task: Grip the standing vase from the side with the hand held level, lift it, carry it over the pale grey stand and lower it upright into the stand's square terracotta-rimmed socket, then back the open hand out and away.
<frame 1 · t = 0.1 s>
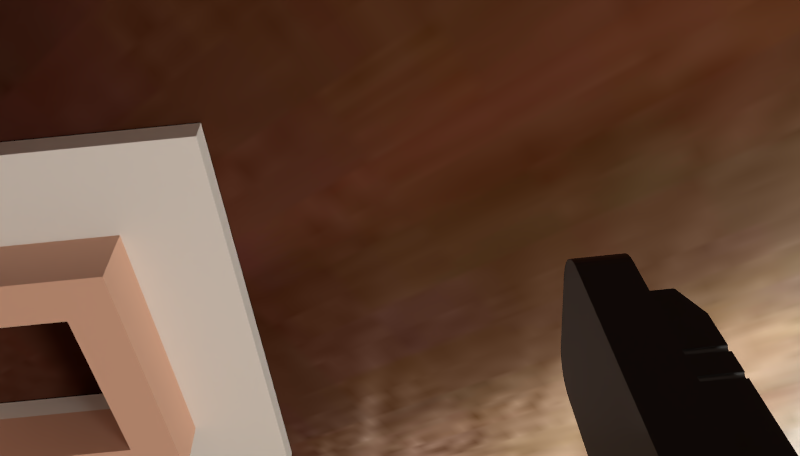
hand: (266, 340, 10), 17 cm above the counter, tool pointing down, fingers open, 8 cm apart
socket stand: (34, 339, 33), on the counter
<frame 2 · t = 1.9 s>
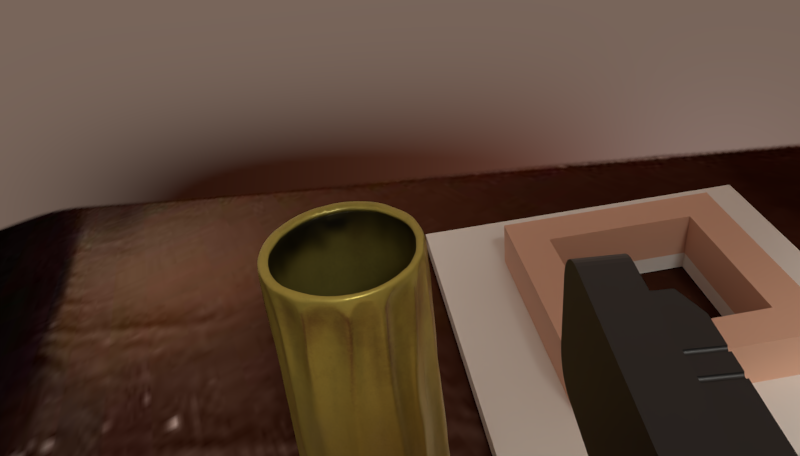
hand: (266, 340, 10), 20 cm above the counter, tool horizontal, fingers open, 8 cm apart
socket stand: (645, 322, 39), on the counter
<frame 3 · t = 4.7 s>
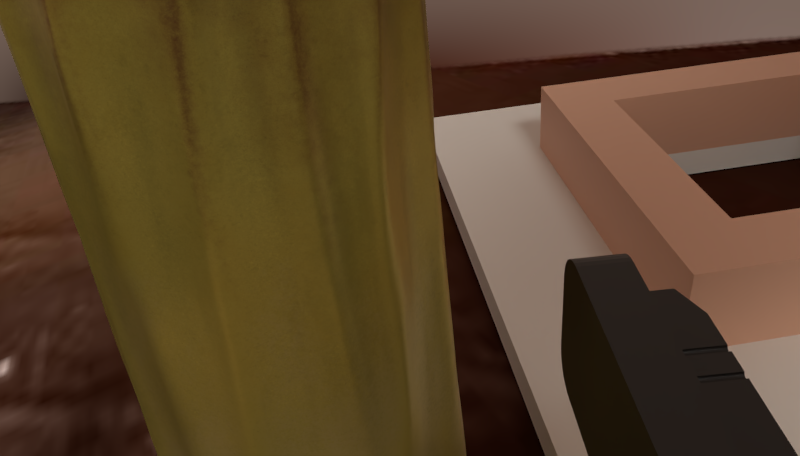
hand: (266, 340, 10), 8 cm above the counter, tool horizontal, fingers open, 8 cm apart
socket stand: (766, 226, 24), on the counter
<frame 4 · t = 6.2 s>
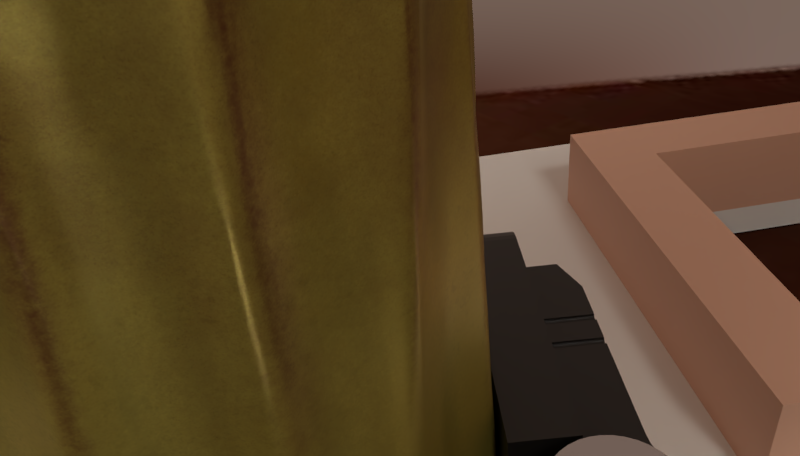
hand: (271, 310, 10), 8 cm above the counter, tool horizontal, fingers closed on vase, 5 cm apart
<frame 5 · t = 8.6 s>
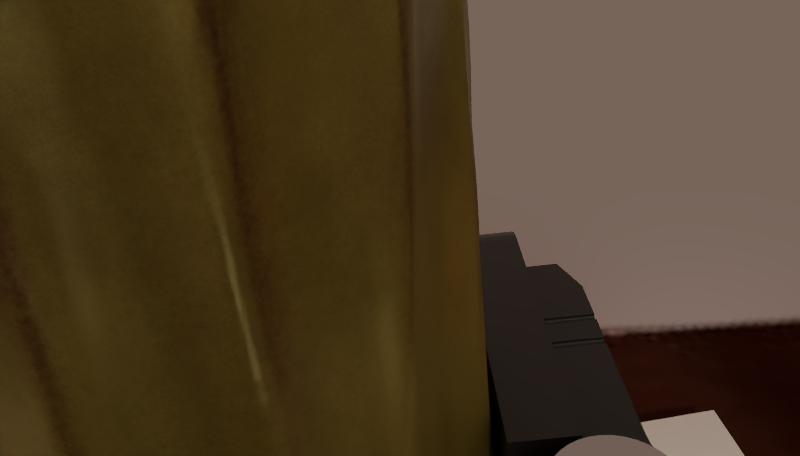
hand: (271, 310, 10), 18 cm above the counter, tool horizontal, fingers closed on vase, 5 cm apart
when the fingers open (9 cm above the counter, at t = 10.9 s): vase drops 1 cm, resting in socket stand.
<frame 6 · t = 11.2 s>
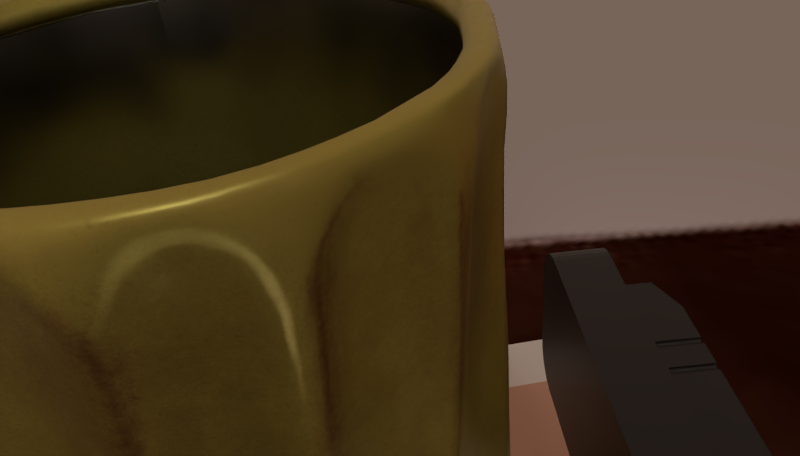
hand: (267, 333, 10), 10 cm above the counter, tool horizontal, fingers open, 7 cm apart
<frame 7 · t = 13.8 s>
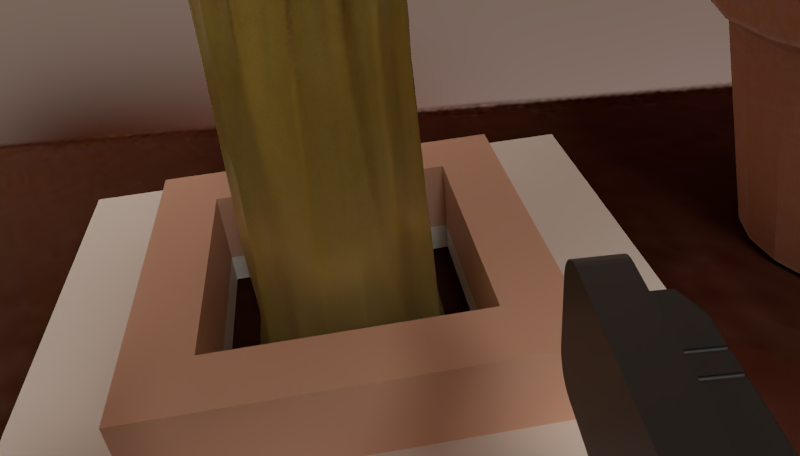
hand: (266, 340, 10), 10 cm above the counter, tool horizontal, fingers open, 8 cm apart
socket stand: (352, 331, 24), on the counter
vase: (355, 339, 24), resting in socket stand
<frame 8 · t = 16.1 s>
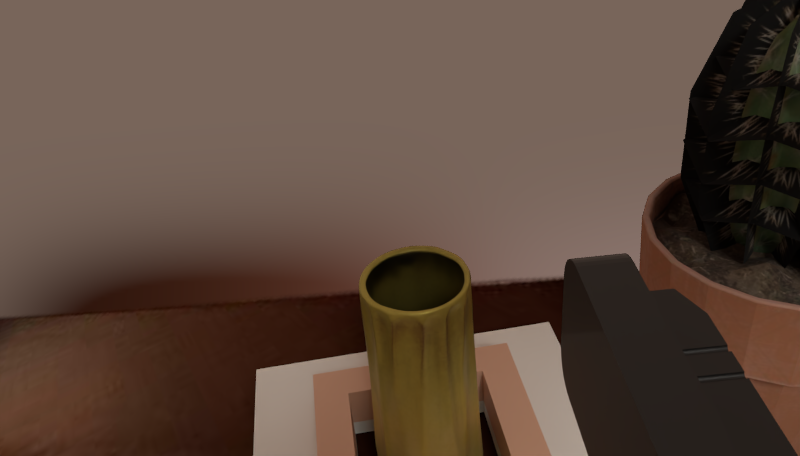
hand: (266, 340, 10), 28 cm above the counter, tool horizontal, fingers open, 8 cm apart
potted plant: (741, 409, 43), on the counter
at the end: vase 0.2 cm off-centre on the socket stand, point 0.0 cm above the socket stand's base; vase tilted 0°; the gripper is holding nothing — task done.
